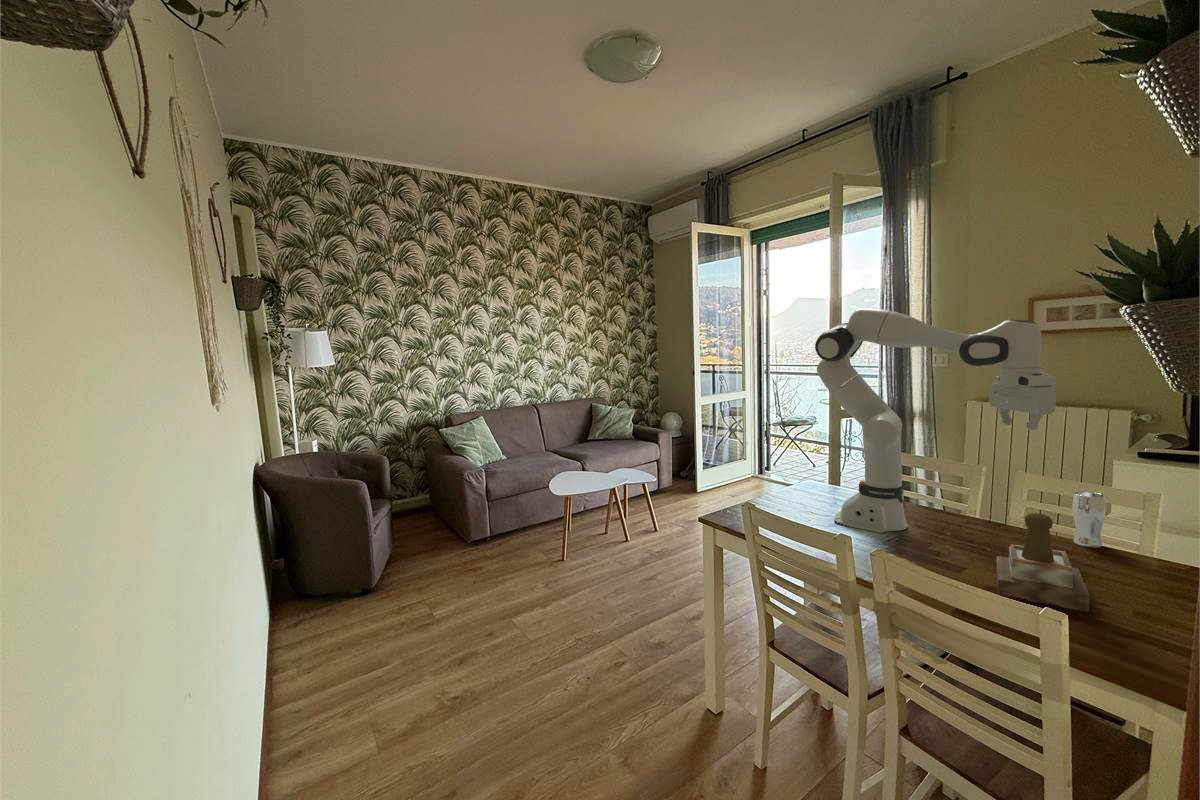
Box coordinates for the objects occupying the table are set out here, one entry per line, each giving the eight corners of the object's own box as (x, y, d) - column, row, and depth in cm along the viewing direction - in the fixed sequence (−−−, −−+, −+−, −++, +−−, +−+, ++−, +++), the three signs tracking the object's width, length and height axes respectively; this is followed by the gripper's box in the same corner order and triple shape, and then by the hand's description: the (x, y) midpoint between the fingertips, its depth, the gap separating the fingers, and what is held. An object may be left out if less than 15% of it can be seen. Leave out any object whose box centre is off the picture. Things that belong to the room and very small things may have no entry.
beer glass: (1104, 542, 148) (1105, 493, 147) (1104, 550, 143) (1106, 499, 142) (1071, 537, 153) (1073, 489, 152) (1070, 544, 148) (1072, 495, 147)
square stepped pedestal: (998, 595, 122) (998, 560, 122) (996, 570, 135) (996, 538, 134) (1088, 612, 113) (1090, 574, 112) (1077, 583, 125) (1078, 549, 125)
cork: (1060, 563, 120) (1061, 518, 119) (1031, 562, 121) (1032, 518, 120) (1043, 553, 126) (1044, 510, 125) (1016, 552, 127) (1016, 510, 126)
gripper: (982, 376, 150) (982, 422, 151) (1036, 380, 130) (1034, 433, 131) (1005, 375, 149) (1004, 421, 151) (1062, 379, 129) (1060, 432, 130)
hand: (1019, 426), depth 141 cm, fingers open, 8 cm apart
